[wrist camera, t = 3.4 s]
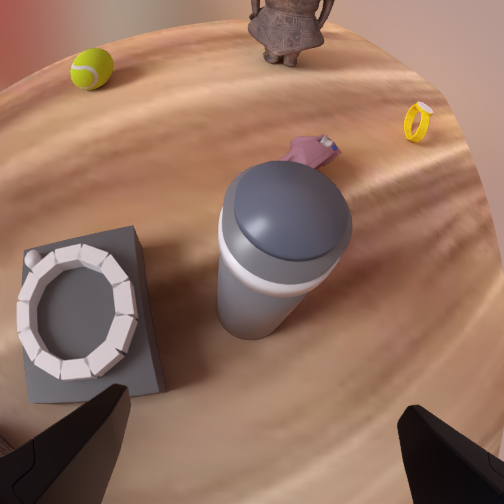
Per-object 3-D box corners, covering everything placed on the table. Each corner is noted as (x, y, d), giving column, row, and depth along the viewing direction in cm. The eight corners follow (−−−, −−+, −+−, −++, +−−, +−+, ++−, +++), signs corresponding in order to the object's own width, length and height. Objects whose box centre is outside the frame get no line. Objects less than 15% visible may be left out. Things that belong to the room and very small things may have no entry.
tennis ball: (68, 101, 33) (58, 64, 27) (85, 78, 36) (78, 45, 30) (107, 96, 33) (100, 56, 28) (121, 74, 37) (117, 38, 31)
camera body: (167, 392, 19) (155, 391, 15) (52, 404, 17) (20, 402, 12) (142, 247, 24) (129, 216, 20) (42, 268, 22) (17, 243, 17)
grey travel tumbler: (296, 320, 23) (384, 233, 11) (236, 354, 21) (269, 297, 9) (262, 264, 25) (308, 140, 13) (202, 292, 23) (196, 174, 11)
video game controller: (256, 220, 29) (297, 201, 22) (227, 181, 28) (262, 152, 21) (315, 173, 33) (357, 151, 26) (292, 140, 32) (330, 112, 25)
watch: (397, 123, 39) (412, 94, 34) (411, 129, 39) (426, 101, 34) (404, 144, 36) (422, 112, 31) (420, 150, 36) (438, 120, 31)
